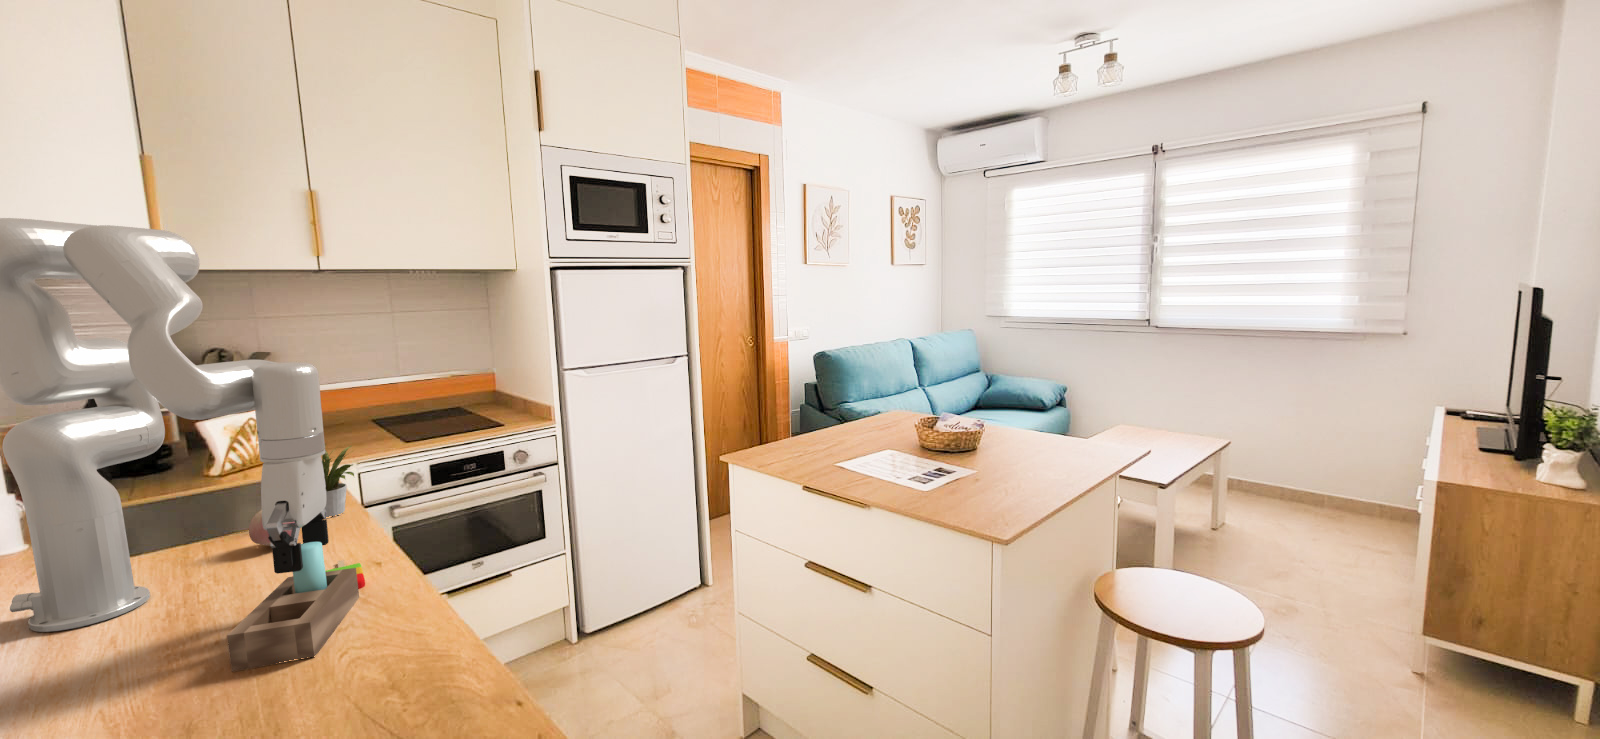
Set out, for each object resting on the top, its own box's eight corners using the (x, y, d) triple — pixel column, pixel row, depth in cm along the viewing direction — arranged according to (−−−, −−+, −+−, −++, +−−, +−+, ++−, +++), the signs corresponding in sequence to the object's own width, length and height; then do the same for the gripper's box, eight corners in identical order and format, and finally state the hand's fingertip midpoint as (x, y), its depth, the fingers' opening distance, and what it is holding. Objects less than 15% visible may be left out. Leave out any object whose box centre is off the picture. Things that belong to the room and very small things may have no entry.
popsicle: (325, 600, 101) (323, 589, 101) (322, 570, 113) (321, 560, 113) (366, 590, 105) (365, 579, 105) (359, 561, 116) (358, 552, 116)
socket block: (231, 671, 81) (226, 635, 81) (292, 607, 98) (288, 577, 98) (314, 657, 84) (310, 622, 84) (359, 597, 101) (355, 567, 101)
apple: (293, 551, 121) (288, 511, 120) (243, 557, 118) (238, 516, 117) (309, 536, 128) (304, 498, 127) (263, 542, 126) (258, 503, 125)
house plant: (279, 533, 130) (269, 456, 128) (284, 515, 141) (275, 444, 139) (363, 517, 138) (355, 445, 136) (361, 501, 149) (354, 434, 148)
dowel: (294, 624, 93) (285, 553, 92) (304, 612, 97) (296, 543, 95) (324, 619, 94) (316, 549, 93) (334, 607, 98) (325, 540, 97)
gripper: (287, 435, 99) (297, 539, 101) (230, 464, 83) (243, 587, 85) (343, 432, 102) (352, 533, 104) (298, 459, 85) (309, 579, 88)
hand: (303, 557), depth 95 cm, fingers open, 9 cm apart
